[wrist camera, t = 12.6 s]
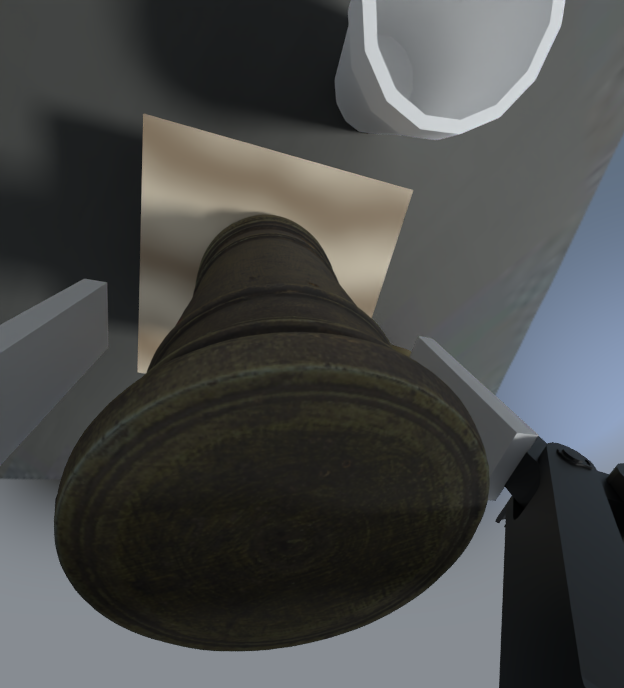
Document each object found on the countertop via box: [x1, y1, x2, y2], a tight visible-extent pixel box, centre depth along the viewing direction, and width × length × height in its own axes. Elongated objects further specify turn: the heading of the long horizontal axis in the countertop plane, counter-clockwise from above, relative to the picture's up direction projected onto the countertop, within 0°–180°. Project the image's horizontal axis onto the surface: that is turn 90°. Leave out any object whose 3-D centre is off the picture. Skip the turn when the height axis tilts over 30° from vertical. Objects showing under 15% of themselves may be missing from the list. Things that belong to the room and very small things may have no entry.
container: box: [54, 215, 490, 651], centre depth 14 cm, size 9×9×18 cm
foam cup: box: [335, 0, 565, 140], centre depth 20 cm, size 10×9×13 cm
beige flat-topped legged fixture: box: [138, 114, 413, 373], centre depth 26 cm, size 16×16×9 cm
